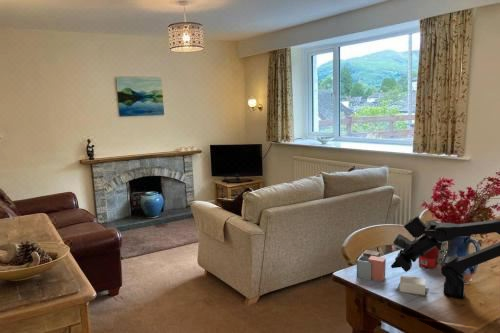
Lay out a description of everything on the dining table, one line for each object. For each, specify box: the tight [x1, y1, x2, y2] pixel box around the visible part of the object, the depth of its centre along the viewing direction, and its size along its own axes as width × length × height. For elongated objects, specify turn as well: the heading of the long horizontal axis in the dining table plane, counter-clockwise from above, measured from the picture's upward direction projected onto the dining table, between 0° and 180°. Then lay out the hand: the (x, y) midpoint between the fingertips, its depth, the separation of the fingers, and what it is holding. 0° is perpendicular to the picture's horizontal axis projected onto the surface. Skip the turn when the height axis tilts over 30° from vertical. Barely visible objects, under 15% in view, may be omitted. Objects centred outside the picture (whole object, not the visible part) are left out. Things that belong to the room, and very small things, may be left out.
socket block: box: [356, 250, 372, 281], centre depth 174 cm, size 6×11×8 cm, turn 148°
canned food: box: [418, 246, 439, 270], centre depth 180 cm, size 8×8×11 cm
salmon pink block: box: [368, 256, 387, 282], centre depth 169 cm, size 6×4×9 cm, turn 58°
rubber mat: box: [395, 282, 430, 299], centre depth 159 cm, size 11×8×1 cm
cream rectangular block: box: [399, 275, 426, 295], centre depth 158 cm, size 9×6×4 cm, turn 68°
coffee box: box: [424, 219, 447, 260], centre depth 191 cm, size 9×6×16 cm
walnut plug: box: [362, 249, 381, 257], centre depth 175 cm, size 6×4×9 cm, turn 58°
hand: (391, 266), depth 165 cm, fingers closed
